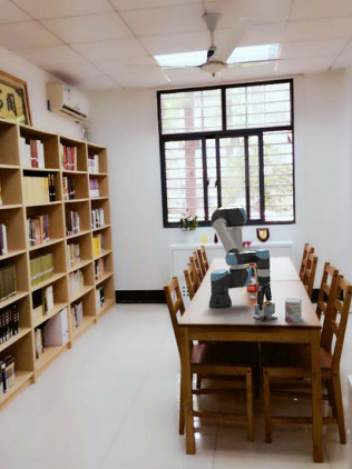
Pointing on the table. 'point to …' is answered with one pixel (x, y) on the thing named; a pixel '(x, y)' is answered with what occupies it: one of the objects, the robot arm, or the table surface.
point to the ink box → (293, 310)
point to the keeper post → (265, 318)
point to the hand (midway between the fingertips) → (264, 313)
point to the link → (266, 309)
